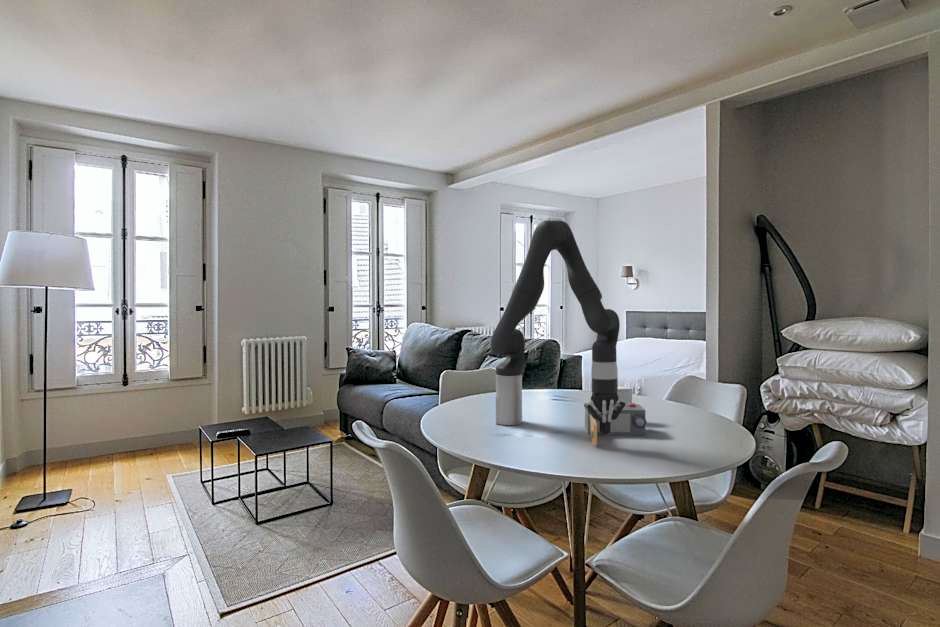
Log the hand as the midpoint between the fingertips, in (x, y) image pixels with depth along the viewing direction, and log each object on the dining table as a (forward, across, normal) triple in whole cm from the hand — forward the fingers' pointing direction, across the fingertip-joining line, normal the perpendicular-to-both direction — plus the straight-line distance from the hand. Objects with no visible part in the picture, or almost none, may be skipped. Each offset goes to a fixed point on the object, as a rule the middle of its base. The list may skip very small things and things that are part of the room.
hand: (605, 433), depth 152 cm
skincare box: (+4, +20, +26) cm, 33 cm away
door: (+3, -1, +6) cm, 7 cm away
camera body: (+4, +11, +15) cm, 19 cm away
